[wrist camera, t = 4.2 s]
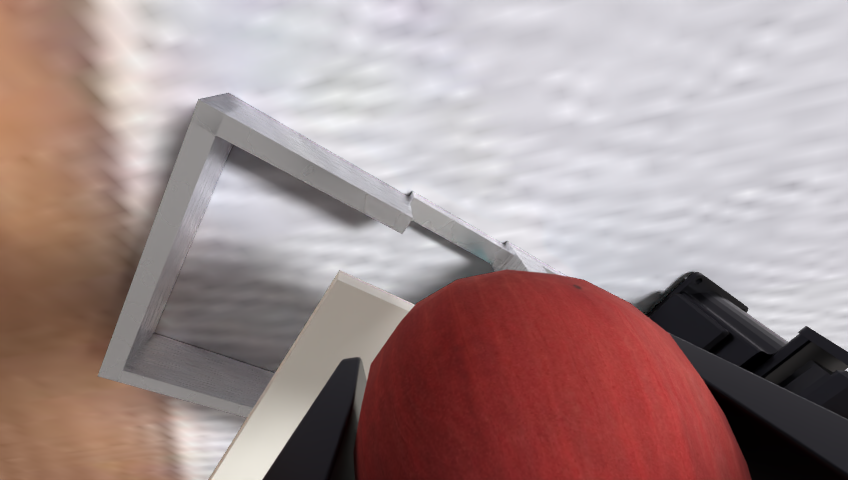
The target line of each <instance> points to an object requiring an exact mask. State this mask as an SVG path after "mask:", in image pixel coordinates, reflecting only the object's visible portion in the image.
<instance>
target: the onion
mask: <svg viewBox="0 0 848 480" xmlns="http://www.w3.org/2000/svg"><path fill="white" fill-rule="evenodd" d="M353 453H354V474H355V480H752V479H751V476H750V472H749V469H748V465H747V463H746V460H745V458H744V456H743V454H742V452H741V449H740V447H739V445H738V443H737V440H736V438H735V436H734V434H733V431H732V429H731V427H730V425H729V423H728V420H727V418H726V416H725V414H724V412H723V411H722V409H721V408H720V406H719V404H718V403H717V401H716V400H715V398H714V397H713V395H712V393H711V392H710V390H709V389H708V387H707V385H706V384H705V382H704V381H703V379H702V378H701V376H700V375H699V374H698V372H697V371H696V370H695V368H694V367H693V365H692V364H691V363H690V361H689V360H688V359H687V357H686V356H685V354H684V353H683V352H682V350H681V349H680V348H679V346H678V345H677V343H676V342H675V341H674V339H673V338H672V337H671V335H670V334H669V333H668V332H666V331H665V330H664V329H663V328H661V327H660V326H659V325H658V324H656V323H655V322H654V321H652V320H651V319H650V318H649V317H647V316H646V315H645V314H643V313H642V312H641V311H640V310H638V309H637V308H636V307H634V306H633V305H632V304H631V303H629V302H627V301H625V300H623V299H621V298H619V297H617V296H615V295H613V294H611V293H609V292H607V291H605V290H603V289H601V288H599V287H597V286H595V285H593V284H591V283H589V282H587V281H585V280H582V279H577V278H572V277H567V276H562V275H557V274H550V273H540V272H529V271H519V270H509V269H506V270H501V271H496V272H491V273H486V274H481V275H476V276H471V277H466V278H461V279H457V280H455V281H454V282H452V283H450V284H449V285H447V286H445V287H443V288H442V289H440V290H438V291H437V292H435V293H433V294H432V295H430V296H428V297H426V298H425V299H423V300H421V301H420V302H418V303H416V305H415V306H414V307H413V308H412V309H411V310H410V311H409V312H408V314H407V315H406V316H405V317H404V318H403V319H402V320H401V321H400V323H399V324H398V326H397V327H396V329H395V330H394V331H393V333H392V334H391V336H390V337H389V339H388V340H387V341H386V343H385V344H384V346H383V347H382V349H381V350H380V352H379V353H378V354H377V356H376V357H375V359H374V360H373V362H372V363H371V365H370V370H369V374H368V379H367V383H366V388H365V392H364V397H363V401H362V405H361V411H360V417H359V422H358V428H357V434H356V440H355V445H354V451H353Z"/></svg>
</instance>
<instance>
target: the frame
mask: <svg viewBox="0 0 848 480" xmlns="http://www.w3.org/2000/svg"><path fill="white" fill-rule="evenodd" d="M233 145H235V146H237V147H239V148H241V149H243V150H245V151H246V152H248V153H250V154H252V155H254V156H256V157H258V158H260V159H262V160H263V161H265V162H267V163H269V164H271V165H273V166H275V167H277V168H279V169H280V170H282V171H284V172H286V173H288V174H290V175H292V176H294V177H295V178H297V179H299V180H301V181H303V182H305V183H307V184H309V185H311V186H312V187H314V188H316V189H318V190H320V191H322V192H324V193H326V194H328V195H329V196H331V197H333V198H335V199H337V200H339V201H341V202H343V203H345V204H346V205H348V206H350V207H352V208H354V209H356V210H358V211H360V212H361V213H363V214H365V215H367V216H369V217H371V218H373V219H375V220H377V221H378V222H380V223H382V224H384V225H386V226H388V227H390V228H392V229H394V230H395V231H397V232H399V233H401V234H403V232H404V231H405V229H406V228H407V226H408V225H409V224H410V222H411V221H414V222H416V223H418V224H419V225H421V226H423V227H425V228H427V229H429V230H430V231H432V232H434V233H436V234H438V235H439V236H441V237H443V238H445V239H447V240H448V241H450V242H452V243H454V244H456V245H458V246H459V247H461V248H463V249H465V250H467V251H468V252H470V253H472V254H474V255H476V256H477V257H479V258H481V259H483V260H485V261H487V262H488V263H490V264H491V265H492V267H493V269H494V271H495V272H496V271H501V270H506V269H509V270H519V271H529V272H540V273H550V274H557V275H562V276H566V275H564V274H562V273H561V272H559V271H557V270H556V269H554V268H552V267H551V266H549V265H547V264H546V263H544V262H542V261H540V260H539V259H537V258H535V257H534V256H532V255H530V254H529V253H527V252H525V251H524V250H522V249H520V248H519V247H517V246H515V245H513V244H512V243H510V242H508V241H507V243H506V244H505V245H504V244H502V243H501V242H499V241H497V240H496V239H494V238H492V237H491V236H489V235H487V234H485V233H484V232H482V231H480V230H479V229H477V228H475V227H473V226H472V225H470V224H468V223H467V222H465V221H463V220H461V219H460V218H458V217H456V216H455V215H453V214H451V213H449V212H448V211H446V210H444V209H443V208H441V207H439V206H437V205H436V204H434V203H432V202H431V201H429V200H427V199H426V198H424V197H422V196H420V195H419V194H417V193H415V192H414V191H412V193H411V195H410V196H409V197H408V196H407V195H405V194H403V193H401V192H400V191H398V190H396V189H394V188H393V187H391V186H389V185H388V184H386V183H384V182H382V181H381V180H379V179H377V178H375V177H374V176H372V175H370V174H368V173H367V172H365V171H363V170H361V169H360V168H358V167H356V166H355V165H353V164H351V163H349V162H348V161H346V160H344V159H342V158H341V157H339V156H337V155H335V154H334V153H332V152H330V151H328V150H327V149H325V148H323V147H322V146H320V145H318V144H316V143H315V142H313V141H311V140H309V139H308V138H306V137H304V136H302V135H301V134H299V133H297V132H295V131H294V130H292V129H290V128H289V127H287V126H285V125H283V124H282V123H280V122H278V121H276V120H275V119H273V118H271V117H269V116H268V115H266V114H264V113H262V112H261V111H259V110H257V109H256V108H254V107H252V106H250V105H249V104H247V103H245V102H243V101H242V100H240V99H238V98H236V97H235V96H233V95H231V94H229V93H226V94H221V95H216V96H211V97H207V98H202V99H198V102H197V105H196V107H195V110H194V113H193V116H192V118H191V121H190V124H189V127H188V129H187V132H186V135H185V138H184V140H183V143H182V146H181V149H180V151H179V154H178V157H177V160H176V162H175V165H174V168H173V171H172V173H171V176H170V179H169V182H168V184H167V187H166V190H165V193H164V195H163V198H162V201H161V204H160V206H159V209H158V212H157V215H156V217H155V220H154V223H153V226H152V228H151V231H150V234H149V237H148V239H147V242H146V245H145V248H144V250H143V253H142V256H141V259H140V261H139V264H138V267H137V270H136V272H135V275H134V278H133V281H132V283H131V286H130V289H129V292H128V294H127V297H126V300H125V303H124V305H123V308H122V311H121V314H120V316H119V319H118V322H117V324H116V327H115V330H114V333H113V335H112V338H111V341H110V344H109V346H108V349H107V352H106V355H105V357H104V360H103V363H102V366H101V368H100V371H99V374H98V376H99V377H102V378H106V379H110V380H113V381H117V382H120V383H124V384H128V385H131V386H135V387H138V388H142V389H145V390H149V391H153V392H156V393H160V394H163V395H167V396H171V397H174V398H178V399H181V400H185V401H188V402H192V403H196V404H199V405H203V406H206V407H210V408H214V409H217V410H221V411H224V412H228V413H231V414H235V415H239V416H242V417H246V418H247V417H248V415H249V414H250V412H251V411H252V409H253V407H254V406H255V404H256V403H257V401H258V399H259V398H260V396H261V395H262V393H263V391H264V390H265V388H266V387H267V385H268V383H269V382H270V380H271V379H272V377H273V375H274V374H275V373H274V372H270V371H267V370H264V369H261V368H258V367H255V366H252V365H249V364H246V363H243V362H240V361H237V360H234V359H231V358H228V357H225V356H222V355H219V354H216V353H213V352H210V351H207V350H204V349H201V348H198V347H195V346H192V345H189V344H186V343H183V342H180V341H177V340H174V339H171V338H168V337H165V336H161V335H158V334H155V333H154V331H155V329H156V327H157V324H158V322H159V319H160V317H161V315H162V312H163V310H164V308H165V305H166V303H167V300H168V298H169V296H170V293H171V291H172V289H173V286H174V284H175V281H176V279H177V277H178V274H179V272H180V270H181V267H182V265H183V262H184V260H185V258H186V255H187V253H188V251H189V248H190V246H191V243H192V241H193V239H194V236H195V234H196V232H197V229H198V227H199V224H200V222H201V220H202V217H203V215H204V213H205V210H206V208H207V205H208V203H209V201H210V198H211V196H212V194H213V191H214V189H215V186H216V184H217V182H218V179H219V177H220V175H221V172H222V170H223V167H224V165H225V163H226V160H227V158H228V155H229V153H230V151H231V148H232V146H233ZM567 277H568V276H567Z"/></svg>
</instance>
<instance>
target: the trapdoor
mask: <svg viewBox="0 0 848 480" xmlns="http://www.w3.org/2000/svg"><path fill="white" fill-rule="evenodd" d="M414 306H415V305H414V304H412V303H410V302H408V301H406V300H404V299H401V298H399V297H397V296H395V295H393V294H390V293H388V292H386V291H384V290H382V289H380V288H377V287H375V286H373V285H371V284H369V283H366V282H364V281H362V280H360V279H358V278H356V277H353V276H351V275H349V274H347V273H345V272H342V271H340V270H339V272H338V273H337V275H336V276H335V278H334V280H333V281H332V283H331V284H330V286H329V288H328V289H327V291H326V292H325V294H324V296H323V297H322V299H321V300H320V302H319V304H318V305H317V307H316V308H315V310H314V312H313V313H312V315H311V316H310V318H309V320H308V321H307V323H306V324H305V326H304V328H303V329H302V331H301V332H300V334H299V336H298V337H297V339H296V340H295V342H294V344H293V345H292V347H291V348H290V350H289V352H288V353H287V355H286V356H285V358H284V360H283V361H282V363H281V364H280V366H279V367H278V369H277V371H276V372H275V374H274V375H273V377H272V379H271V380H270V382H269V383H268V385H267V387H266V388H265V390H264V391H263V393H262V395H261V396H260V398H259V399H258V401H257V403H256V404H255V406H254V407H253V409H252V411H251V412H250V414H249V415H248V417H247V419H246V420H245V422H244V423H243V425H242V427H241V428H240V430H239V431H238V433H237V435H236V436H235V438H234V439H233V441H232V443H231V444H230V446H229V447H228V449H227V451H226V452H225V454H224V455H223V457H222V459H221V460H220V462H219V463H218V465H217V467H216V468H215V470H214V471H213V473H212V475H211V476H210V478H209V479H208V480H262V479H263V478H264V476H265V475H266V473H267V472H268V470H269V469H270V467H271V466H272V464H273V463H274V461H275V459H276V458H277V456H278V455H279V453H280V452H281V450H282V449H283V447H284V446H285V444H286V443H287V441H288V440H289V438H290V437H291V435H292V434H293V432H294V431H295V429H296V428H297V426H298V425H299V423H300V422H301V420H302V419H303V417H304V416H305V414H306V413H307V411H308V410H309V408H310V407H311V405H312V404H313V402H314V401H315V399H316V398H317V396H318V395H319V393H320V392H321V390H322V389H323V387H324V386H325V384H326V383H327V381H328V380H329V378H330V377H331V375H332V374H333V372H334V371H335V369H336V368H337V366H338V365H339V363H340V362H341V361H342V360H343V359H346V358H353V357H360V358H361V359H362V362H363V366H364V371H365V375H366V379H368V374H369V370H370V365H371V363H372V362H373V360H374V359H375V357H376V356H377V354H378V353H379V352H380V350H381V349H382V347H383V346H384V344H385V343H386V341H387V340H388V339H389V337H390V336H391V334H392V333H393V331H394V330H395V329H396V327H397V326H398V324H399V323H400V321H401V320H402V319H403V318H404V317H405V316H406V315H407V314H408V312H409V311H410V310H411V309H412V308H413V307H414Z"/></svg>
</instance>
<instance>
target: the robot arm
mask: <svg viewBox="0 0 848 480" xmlns="http://www.w3.org/2000/svg"><path fill="white" fill-rule="evenodd" d="M747 311H748V307H747V306H745V305H744V304H743V303H741V302H740V301H738V300H737V299H736V298H734V297H733V296H732V295H730V294H729V293H727V292H726V291H725V290H723V289H722V288H721V287H719V286H718V285H716V284H715V283H714V282H712V281H711V280H710V279H708V278H707V277H705V276H704V275H703V274H701V273H699V272H695V273H692V274H691V275H690V276H689V277H688V278H687V279H685V280H684V281H683V282H682V283H681V284H680V285H679V286H678V287H677V288H676V289H675V290H674V291H672V292H671V293H670V294H669V295H668V296H667V297H666V298H665V299H664V300H663V301H662V302H660V303H659V304H658V305H657V306H656V307H655V308H654V309H653V310H652V311H651V312H650V313H649V314H647V315H646V316H647V317H649V318H650V319H651V320H652V321H654V322H655V323H656V324H658V325H659V326H660V327H661V328H663V329H664V330H665V331H666V332H668V333H669V334H670V335H671V337H672V338H673V339H674V341H675V342H676V343H677V345H678V346H679V348H680V349H681V350H682V352H683V353H684V354H685V356H686V357H687V359H688V360H689V361H690V363H691V364H692V365H693V367H694V368H695V370H696V371H697V372H698V374H699V375H700V376H701V378H702V379H703V381H704V382H705V384H706V385H707V387H708V389H709V390H710V392H711V393H712V395H713V397H714V398H715V400H716V401H717V403H718V404H719V406H720V408H721V409H722V411H723V412H724V414H725V416H726V418H727V420H728V423H729V425H730V427H731V429H732V431H733V434H734V436H735V438H736V440H737V443H738V445H739V447H740V449H741V452H742V454H743V456H744V458H745V460H746V463H747V465H748V469H749V472H750V476H751V479H752V480H848V372H847V371H844V370H846V369H847V368H848V352H847V351H845V350H844V349H842V348H841V347H839V346H837V345H836V344H834V343H833V342H831V341H829V340H828V339H826V338H825V337H823V336H821V335H820V334H818V333H817V332H815V331H813V330H812V329H810V328H809V327H807V326H805V327H804V328H803V329H802V330H800V331H799V332H798V333H799V335H797V336H796V337H795V338H794V339H792V340H791V341H790V342H787V341H786V340H785V339H783V338H782V337H780V336H779V335H777V334H776V333H775V332H773V331H772V330H770V329H769V328H767V327H766V326H764V325H763V324H762V323H760V322H759V321H757V320H756V319H754V318H753V317H751V316H750V315H749V314H747ZM366 383H367V379H366V375H365V371H364V366H363V362H362V359H361V358H360V357H353V358H346V359H343V360H342V361H341V362H340V363H339V365H338V366H337V368H336V369H335V371H334V372H333V374H332V375H331V377H330V378H329V380H328V381H327V383H326V384H325V386H324V387H323V389H322V390H321V392H320V393H319V395H318V396H317V398H316V399H315V401H314V402H313V404H312V405H311V407H310V408H309V410H308V411H307V413H306V414H305V416H304V417H303V419H302V420H301V422H300V423H299V425H298V426H297V428H296V429H295V431H294V432H293V434H292V435H291V437H290V438H289V440H288V441H287V443H286V444H285V446H284V447H283V449H282V450H281V452H280V453H279V455H278V456H277V458H276V459H275V461H274V463H273V464H272V466H271V467H270V469H269V470H268V472H267V473H266V475H265V476H264V478H263V479H262V480H355V474H354V453H353V451H354V445H355V440H356V434H357V428H358V422H359V417H360V411H361V405H362V401H363V397H364V392H365V388H366Z"/></svg>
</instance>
